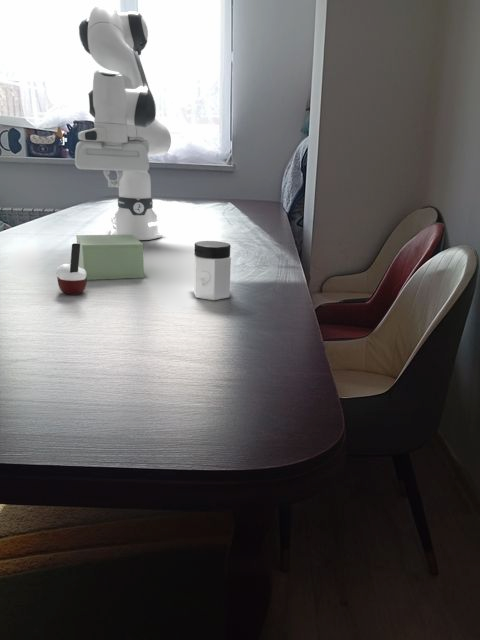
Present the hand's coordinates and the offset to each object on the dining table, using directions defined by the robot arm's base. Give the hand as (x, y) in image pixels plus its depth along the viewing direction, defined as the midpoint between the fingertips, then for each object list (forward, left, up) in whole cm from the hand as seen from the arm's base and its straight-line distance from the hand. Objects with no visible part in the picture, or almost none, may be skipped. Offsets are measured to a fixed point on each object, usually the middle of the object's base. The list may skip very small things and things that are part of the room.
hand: (113, 187), depth 148 cm
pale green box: (+21, -5, -20) cm, 29 cm away
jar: (+48, +14, -20) cm, 54 cm away
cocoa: (+40, -16, -20) cm, 47 cm away
